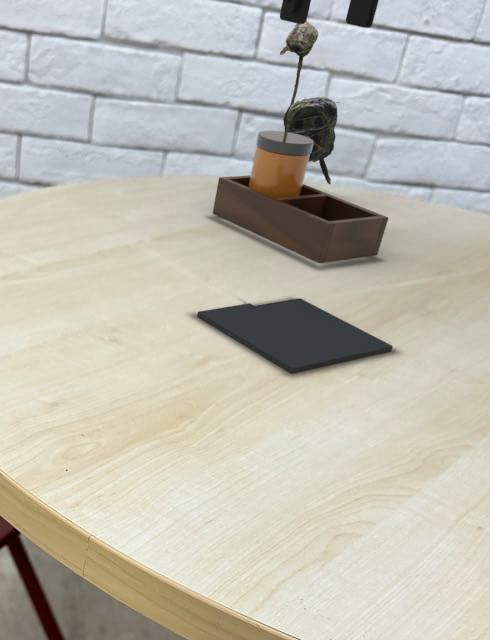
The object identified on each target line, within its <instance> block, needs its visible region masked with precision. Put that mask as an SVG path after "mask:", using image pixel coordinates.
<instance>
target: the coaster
mask: <svg viewBox="0 0 490 640" xmlns="http://www.w3.org/2000/svg"><path fill="white" fill-rule="evenodd" d="M196 317H197V318H198V319H200V320H202V321H203V322H205V323H207V324H208V325H210V326H211V327H213V328H215V330H218V331H220V332H222V333H223V334H224V335H227V336H228V337H230V338H231V339H233V340H235V341H236V342H238V343H240V344H241V345H243V346H244V347H246V348H248V349H249V350H251V351H253V352H254V353H256V354H258V355H259V356H261V357H263V358H265V359H266V360H268V361H269V362H271V363H272V364H274V365H276V366H278V367H279V368H281V369H282V370H284V371H286V372H288V373H289V374H294V373H295V374H296V373H299V372H300V373H301V372H304V371H309V370H313V369H314V370H315V369H319V368H323V367H326V366H327V367H328V366H331V365H335V364H336V365H337V364H340V363H344V362H345V363H346V362H349V361H353V360H357V359H358V360H359V359H362V358H368V357H371V356H375V355H381V354H384V353H390V352H392V350H393V345H391V344H390V343H388V342H386V341H384V340H382V339H380V338H378V337H376V336H375V335H372V334H371V333H368V332H366V331H364V330H362V329H361V328H358V327H357V326H355V325H353V324H351V323H349V322H347V321H345V320H343V319H341V318H339V317H337V316H335V315H334V314H332V313H329V312H328V311H326V310H323V309H321V308H320V307H318V306H316V305H314V304H312V303H310V302H308V301H307V300H304V299H302V298H301V297H300V298H294V299H287V300H282V301H275V302H270V303H269V302H268V303H263V304H258V305H254V304H251V303H250V302H248V303H244V304H236V305H230V306H225V307H218V308H212V309H207V310H206V309H205V310H200V311H197V315H196Z"/></svg>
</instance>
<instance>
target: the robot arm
mask: <svg viewBox="0 0 490 640" xmlns="http://www.w3.org/2000/svg"><path fill="white" fill-rule="evenodd" d="M379 1H380V0H350V1H349V5H348V9H347V13H346V16H345V22H346V24H348V25H351V26H356V27H361V28H366V29H367V28H368V29H369V28H371V27H372V26H373V23H374V20H375V16H376V12H377V8H378V4H379ZM311 2H312V0H282V3H281V7H280V12H279V19H280V20H281V21H285V22H288V23H289V22H290V23H293V24H304V23H305V22H306V20H307V21H308V17H309V16H308V15H309V13H310V12H309V11H310V6H311Z"/></svg>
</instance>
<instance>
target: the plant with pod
mask: <svg viewBox="0 0 490 640" xmlns="http://www.w3.org/2000/svg"><path fill="white" fill-rule="evenodd" d="M318 37H319V31H318V29H316V27H315V26H314V25H312V24H311V23H310V22H308V19H307V20H306V22H305V23H304V24H297V23H295V25H294V27H293V29H292V30H291V31H290V32H289V33H288V35H287V36H286V39H285V43H286V45H285V46H284V47H283V48H282V50H281V51H280V52H279V55H280V56H284V55H285V54H286V52H290V53H295V55H296V56H298V62H297V69H296V78H295V84H294V89H293V93H292V97H291V101H290V105H289V106H288V108H287V110H286V112H285V113H284V117H283V119H282V120H283V127H284V132H289V133H294V134H299V135H302V136H306V137H308V138H310V139H312V140H313V141H314V144H313V148H312V152H311V154H310V156H309V161H308V163H310V162H311V163H317V162H319V166H320V170H321V172H322V174H323V176H324V179H325V181H326V183H327V184H328V185H331V184H332V180H331V177H330V175H329V170H328V167H327V164H326V161H325V159H326V158H327V157H329V156H330V155H331V154H332V152H333V151H334V149H335V141H336V131H335V128H336V126H337V122H338V116H339V115H338V106H337V104H339V103H340V101H337V102H335V101H333V100H331V99H330V98H329V97H328V96H317V97H310V98H303V99H302V100H297V101H296V102H295V100H296V97H297V93H298V89H299V83H300V77H301V72H302V68H303V63H304V58H305V57H307V56H308V55H309V54H310V53H311V52H312V50H313V47H314V44H315V43H316V42H317V40H318Z"/></svg>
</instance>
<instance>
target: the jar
mask: <svg viewBox="0 0 490 640" xmlns="http://www.w3.org/2000/svg"><path fill="white" fill-rule="evenodd" d="M313 144H314V141H313V140H312V139H310V138H308V137H306V136H302V135H299V134H294V133H289V132H285V131H282V130H281V131H280V130H262V131H259V132H258V133H257V137H256V142H255V145H256V146H255V152H254V156H253V161H252V166H251V169H250V170H251V171H250V174H249V175H250V180H249V185H248V187H249V188H251V189H253V190H256V191H258V192H261V193H263V194H265V195H268V196H270V197H272V198H279V197H290V196H300V194H301V190H302V186H303V184H304V182H305V181H304V180H305V178H306V177H305V176H306V174H307V173H306V172H307V170H308V169H307V168H308V165H309V162H308V161H309V156H310V154H311V152H312V148H313Z"/></svg>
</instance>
